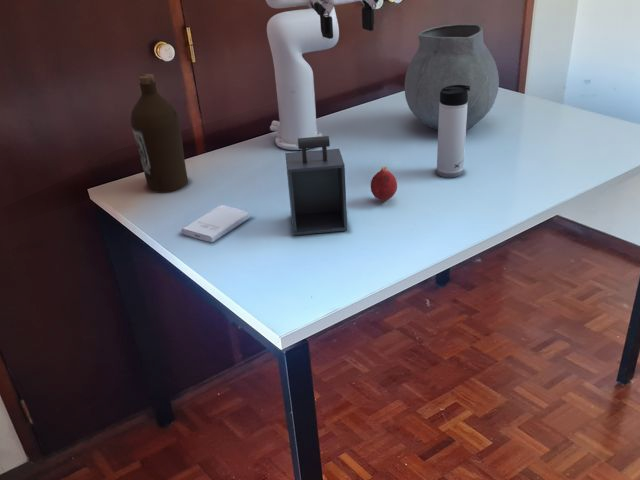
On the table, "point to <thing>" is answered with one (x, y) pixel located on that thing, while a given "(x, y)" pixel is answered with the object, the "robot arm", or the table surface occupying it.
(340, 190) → the grey drawer with handle
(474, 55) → the ceramic pot
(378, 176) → the onion
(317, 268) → the table surface
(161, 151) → the olive oil
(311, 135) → the robot arm
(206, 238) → the hard drive
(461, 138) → the travel mug
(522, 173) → the table surface
